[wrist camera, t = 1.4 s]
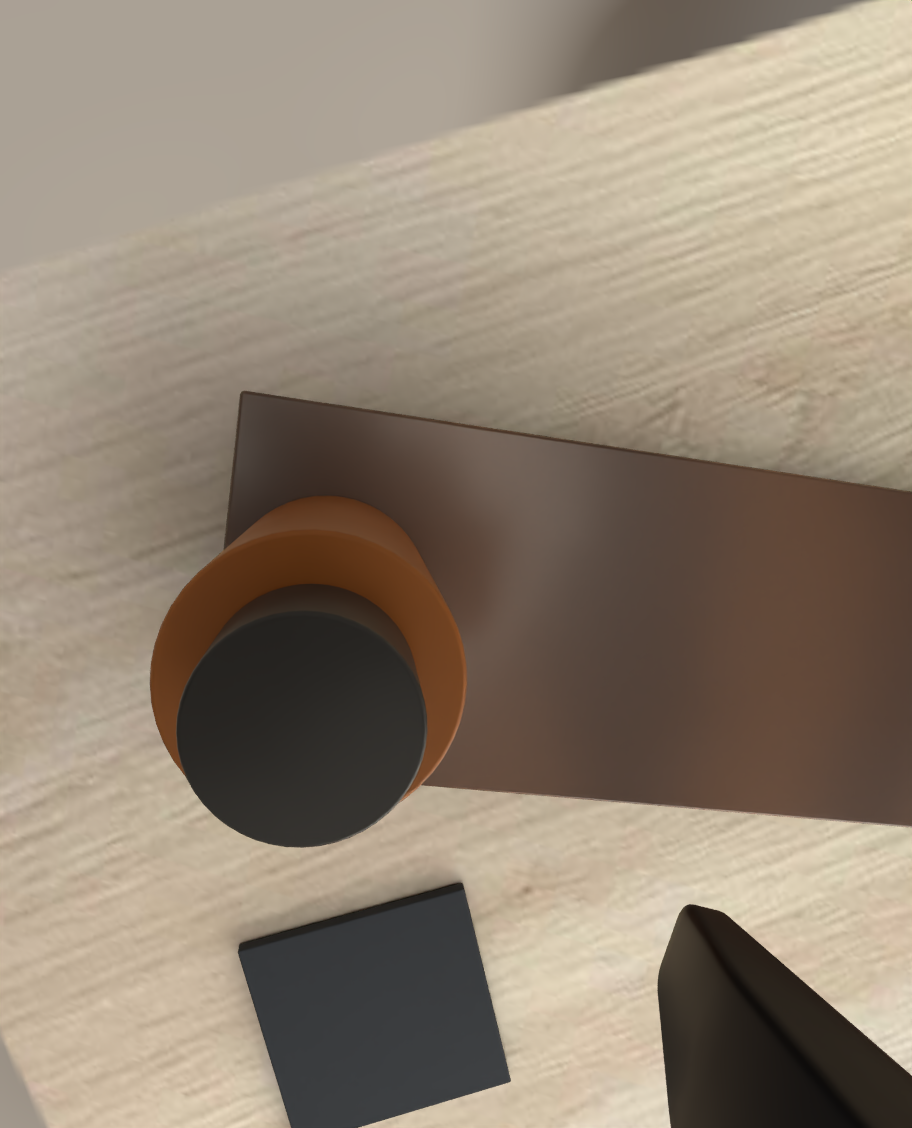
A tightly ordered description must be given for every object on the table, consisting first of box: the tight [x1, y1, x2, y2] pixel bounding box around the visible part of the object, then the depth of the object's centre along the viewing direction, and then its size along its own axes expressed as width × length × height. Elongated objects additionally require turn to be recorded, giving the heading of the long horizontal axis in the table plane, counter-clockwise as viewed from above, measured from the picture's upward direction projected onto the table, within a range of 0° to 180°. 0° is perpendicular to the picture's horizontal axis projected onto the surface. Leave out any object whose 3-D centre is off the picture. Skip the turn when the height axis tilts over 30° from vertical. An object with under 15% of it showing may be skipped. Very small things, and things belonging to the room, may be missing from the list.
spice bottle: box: [150, 496, 467, 847], centre depth 15 cm, size 5×5×9 cm
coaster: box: [238, 883, 511, 1128], centre depth 25 cm, size 7×7×1 cm
